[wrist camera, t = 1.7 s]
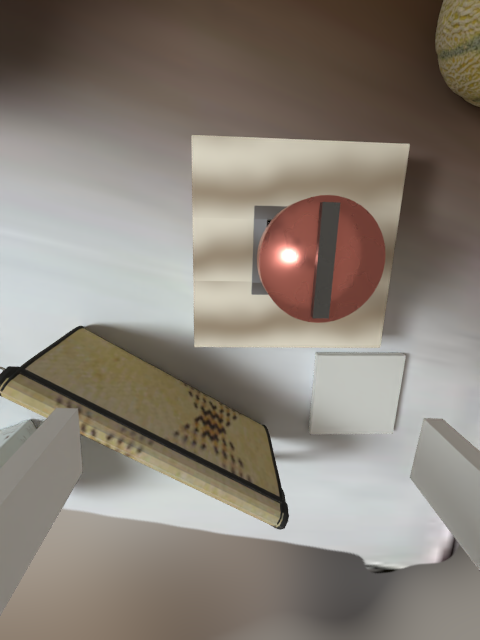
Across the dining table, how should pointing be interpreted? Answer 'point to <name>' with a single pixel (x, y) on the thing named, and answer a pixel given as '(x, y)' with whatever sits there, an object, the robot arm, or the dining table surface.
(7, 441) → the supplement box
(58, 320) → the dining table surface
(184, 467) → the clutch purse
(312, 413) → the rubber mat
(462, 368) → the dining table surface
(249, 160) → the block
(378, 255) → the screw pin
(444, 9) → the cantaloupe
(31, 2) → the dining table surface
